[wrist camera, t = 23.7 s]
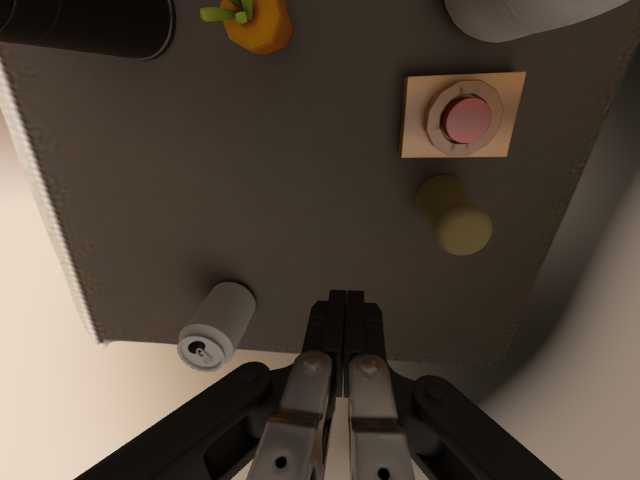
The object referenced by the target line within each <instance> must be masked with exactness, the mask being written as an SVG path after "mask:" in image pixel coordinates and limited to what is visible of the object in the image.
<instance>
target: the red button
mask: <svg viewBox="0 0 640 480" xmlns="http://www.w3.org/2000/svg"><path fill="white" fill-rule="evenodd" d="M490 122H491V110H490V108H489V106H488V104H487V103H486V102H485V101H483V100H481V99H479V98H472V97H464V98H460V99H458V100H456V101H454V102H453V103H451V104H450V105H449V106H448V108H447V109H446V111H445V112H444V115H443V118H442V128H443V131H444V133H445V134H446V135H447V136H448V137H449V138H451V139H453V140H454V141H456V142H459V143H470V142H473V141H475V140H477V139H479V138H480V137H481V136H482V135H483V134H484V133H485V132H486V131H487V129H488V127H489V125H490Z"/></svg>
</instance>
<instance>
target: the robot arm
mask: <svg viewBox="0 0 640 480" xmlns="http://www.w3.org/2000/svg"><path fill="white" fill-rule="evenodd" d="M174 31H175V9H174V4H173V0H0V42H7V43H17V44H25V45H33V46H41V47H49V48H57V49H64V50H72V51H80V52H88V53H96V54H104V55H112V56H118V57H126V58H130V59H134V60H152V59H155V58H157V57H159V56H160V55H162V54H163V53H164V52H165V51H166V50H167V48H168V47H169V45H170V43H171V41H172V39H173V35H174ZM343 371H344V397H345V398H348V434H349V460H350V480H415V477H414V472H413V467H412V463H411V458H412V459H413V460H414V462H415V463H416V464H417V465H418V466H419V468H420V469H421V470H422V471H423V473H424V474H425V475H426V476H427V477H428V479H429V480H563V479H561V478H560V477H559V476H558V475H557V474H556V473H554V472H553V471H552V470H551V469H550V468H548V467H547V466H546V465H545V464H544V463H543V462H542V461H540V460H539V459H538V458H537V457H536V456H535V455H533V454H532V453H531V452H530V451H529V450H527V449H526V448H525V447H524V446H523V445H521V443H519V442H518V441H517V440H516V439H515V438H514V437H512V436H511V435H510V434H509V433H507V431H505V430H504V429H503V428H502V427H501V426H500V425H498V424H497V423H496V422H495V421H494V420H493V419H491V418H490V417H489V416H488V415H487V414H486V413H484V412H483V411H482V410H481V409H480V408H479V407H477V406H476V405H475V404H474V403H473V402H471V401H470V400H469V399H468V398H467V397H466V396H465V395H463V394H462V393H461V392H460V391H459V390H458V389H456V388H455V387H454V386H453V385H452V384H451V383H449V382H448V381H446V380H445V379H443V378H441V377H438V376H433V375H426V376H422V377H420V378H418V379H417V380H416V381H414V380H411V379H408V378H405V377H403V376H401V375H399V374H397V373H396V372H394V371H393V370H392V369H391V367H390V366H389V365H388V363H387V360H386V354H385V343H384V332H383V322H382V311H381V310H380V308H379V307H378V305H377V304H376V303H364V291H352V290H348V293H347V308H346V290H330V293H329V300H328V301H317V302H316V303H315V304H314V306H313V307H312V308H311V313H310V318H309V321H308V326H307V330H306V335H305V339H304V344H303V348H302V352H301V354H300V355H299V356H298V357H297V358H296V359H295V361H294V363H293V364H291V365H289V366H287V367H285V368H280V369H276V370H271V371H270V370H269V368H268V367H267V366H266V365H265V364H263V363H260V362H248V363H245V364H243V365H241V366H239V367H238V368H236V369H235V370H233V371H232V372H230V373H229V374H227V375H226V376H225V377H223V378H222V379H220V380H219V381H217V382H216V383H214V384H213V385H211V386H210V387H208V388H207V389H205V390H204V391H203V392H201V393H200V394H198V395H197V396H195V397H194V398H192V399H191V400H189V401H188V402H186V403H185V404H183V405H182V406H181V407H179V408H178V409H177V410H175V411H173V412H172V413H170V414H169V415H167V416H166V417H165V418H163V419H162V420H160V421H159V422H157V423H156V424H155V425H153V426H152V427H150V428H148V429H147V430H146V431H144V432H142V433H141V434H140V435H138V436H137V437H135V438H134V439H132V440H131V441H130V442H128V443H126V444H125V445H124V446H122V447H121V448H119V449H118V450H116V451H115V452H113V453H112V454H110V455H109V456H107V457H106V458H104V459H103V460H101V461H100V462H99V463H97V464H96V465H94V466H93V467H91V468H90V469H88V470H87V471H85V472H84V473H82V474H81V475H79V476H78V477H77V478H75V479H74V480H231V479H232V477H234V476H235V475H236V474H237V473H238V472H239V471H240V470H241V469H242V468H243V467H245V466H246V465H247V464H248V463H249V462H250V461H251V460H252V459H253V458H254V459H253V462H252V465H251V467H250V471H249V473H248V476H247V478H246V480H324V474H325V467H326V461H327V455H328V448H329V442H330V436H331V430H332V424H333V417H334V411H335V403H336V397H342V387H343Z"/></svg>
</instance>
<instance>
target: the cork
mask: <svg viewBox="0 0 640 480" xmlns="http://www.w3.org/2000/svg"><path fill="white" fill-rule="evenodd" d="M415 204H416V208H417V210H418V211H419V213H420V214H421V215H422V216H423V217H424V219H425V220H426V221H427V222H428V223H429V224H430V225H431V226H432V227H433V228H434V229H433V232H434V237H435V239H436V241H437V243H438V244H439V246H440V247H441V248H443V249H444V250H445V251H447V252H448V253H451V254H454V255H468V254H473V253H475V252H477V251H479V250H480V249H481V248H483V247H484V246H485V245H486V243H487V242H488V240H489V239H490V237H491V233H492V224H491V220H490V218H489V216H488V214H487V213H486V212H485V211H484V210H483V209H481V208H480V207H479V206H476V205H474V204H472V202H471V200H470V198H469V196H468V194H467V192H466V190H465V188H464V186H463V184H462V182H461V181H459V180H458V179H457V178H456V177H453V176H450V175H438V176H434V177H431V178H430V179H428V180H426V181H425V182H424V183H423V184H422V185H421V186H420V187H419V189H418V191H417V193H416V198H415Z"/></svg>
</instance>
